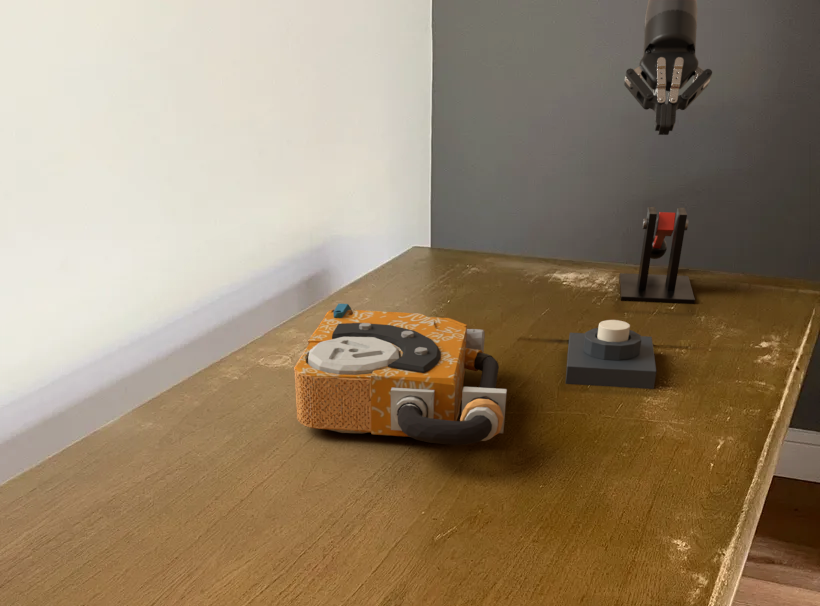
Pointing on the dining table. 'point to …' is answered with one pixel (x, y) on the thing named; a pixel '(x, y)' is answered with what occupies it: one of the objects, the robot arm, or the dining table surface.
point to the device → (398, 378)
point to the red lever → (662, 233)
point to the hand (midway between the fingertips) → (664, 131)
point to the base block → (610, 361)
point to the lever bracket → (659, 286)
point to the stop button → (613, 331)
